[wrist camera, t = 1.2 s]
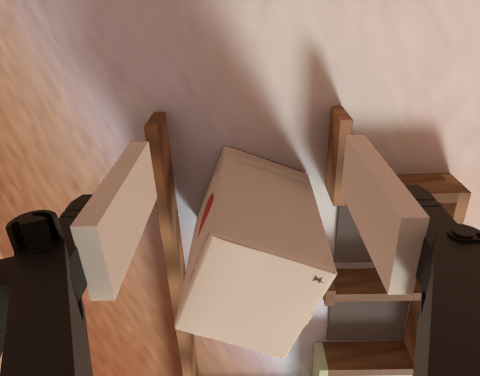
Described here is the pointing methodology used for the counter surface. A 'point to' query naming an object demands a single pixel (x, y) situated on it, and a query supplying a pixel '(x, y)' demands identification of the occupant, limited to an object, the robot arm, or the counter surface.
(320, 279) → the supplement box
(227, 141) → the counter surface
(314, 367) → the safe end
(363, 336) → the mats
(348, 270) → the lane
